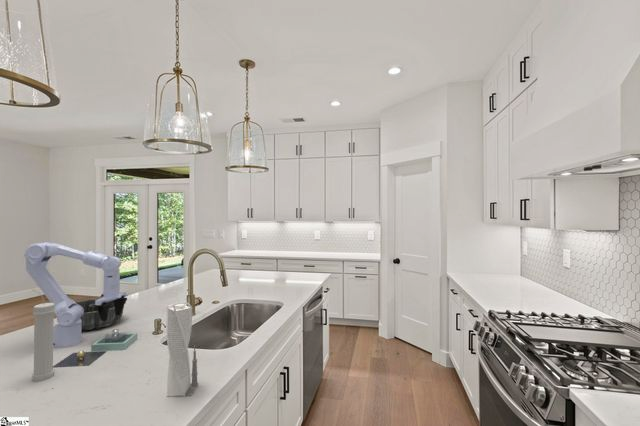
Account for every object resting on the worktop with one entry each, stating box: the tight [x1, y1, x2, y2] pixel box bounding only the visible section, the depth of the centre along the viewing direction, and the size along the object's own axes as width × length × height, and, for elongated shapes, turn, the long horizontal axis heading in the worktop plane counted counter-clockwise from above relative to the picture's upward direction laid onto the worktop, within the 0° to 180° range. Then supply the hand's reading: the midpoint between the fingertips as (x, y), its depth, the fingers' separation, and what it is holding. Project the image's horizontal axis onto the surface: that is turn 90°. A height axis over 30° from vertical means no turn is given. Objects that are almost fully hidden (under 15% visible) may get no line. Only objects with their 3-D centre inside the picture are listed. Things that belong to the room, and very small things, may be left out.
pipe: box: [31, 288, 56, 382], centre depth 102 cm, size 6×6×30 cm
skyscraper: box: [165, 301, 199, 398], centre depth 96 cm, size 8×8×28 cm
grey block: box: [105, 328, 127, 343], centre depth 128 cm, size 5×5×6 cm
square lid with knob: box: [53, 350, 108, 369], centre depth 115 cm, size 12×12×4 cm
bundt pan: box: [75, 297, 127, 331], centre depth 155 cm, size 26×26×10 cm
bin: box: [90, 332, 138, 352], centre depth 128 cm, size 12×11×4 cm
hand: (111, 317), depth 134 cm, fingers open, 7 cm apart
